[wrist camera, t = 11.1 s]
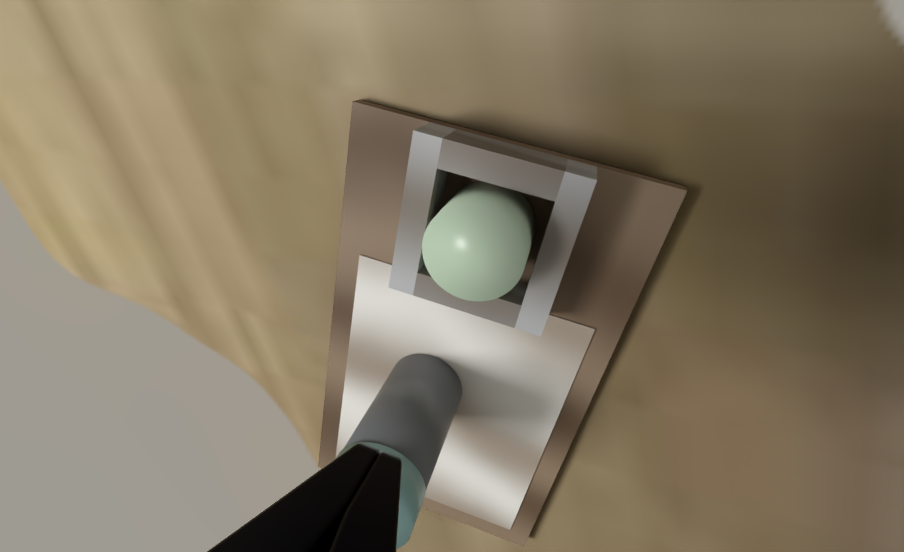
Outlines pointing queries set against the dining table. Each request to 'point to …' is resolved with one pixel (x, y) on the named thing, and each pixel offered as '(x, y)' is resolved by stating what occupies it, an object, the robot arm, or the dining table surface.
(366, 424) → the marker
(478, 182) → the button
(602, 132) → the dining table surface
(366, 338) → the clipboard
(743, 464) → the dining table surface
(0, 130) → the dining table surface
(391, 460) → the robot arm
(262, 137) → the dining table surface
